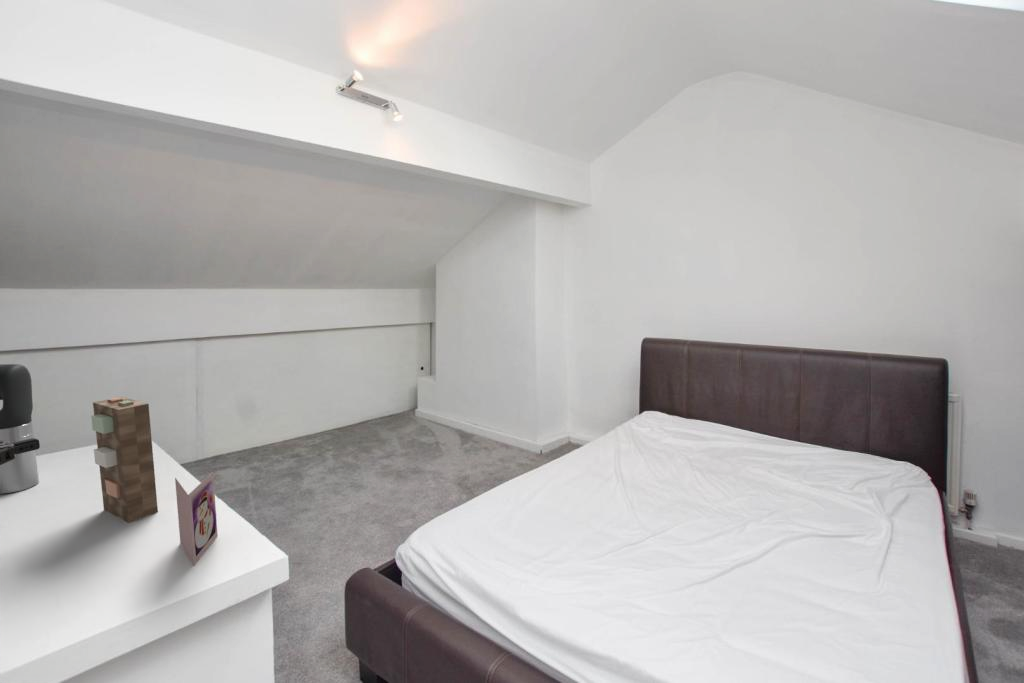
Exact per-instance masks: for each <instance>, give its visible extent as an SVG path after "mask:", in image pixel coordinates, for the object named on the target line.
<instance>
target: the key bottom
mask: <svg viewBox="0 0 1024 683" xmlns="http://www.w3.org/2000/svg"><path fill="white" fill-rule="evenodd" d="M105 483H106V493H107V494H109V495H111V496H113V497H115V498H117V499H118V498H121V497H120V487H119V483H118V482H115V481H113V480H111V479H107V480H105Z"/></svg>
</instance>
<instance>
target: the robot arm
mask: <svg viewBox="0 0 1024 683" xmlns="http://www.w3.org/2000/svg"><path fill="white" fill-rule="evenodd" d="M32 387H33V385H32V377H31V372H30V371H29V370H28V368H27V367H26V366H24V365H23V364H20V363H19V364H17V363H12V364H11V363H8V364H0V401H2V408H1V409H0V495H2V494H9V493H15V492H20V491H23V490H27V489H30V488H32V487H35V486H36V485H37V484H39V482H40V478H39V471H38V470H39V469H38V462H37V453H36V451H37V450H39V449H40V447H41V446H40V440H39V439H37V438H35V436H34V429H33V422H32V421H33V420H32V413H33V407H34V406H33V404H34V403H33V388H32Z"/></svg>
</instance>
